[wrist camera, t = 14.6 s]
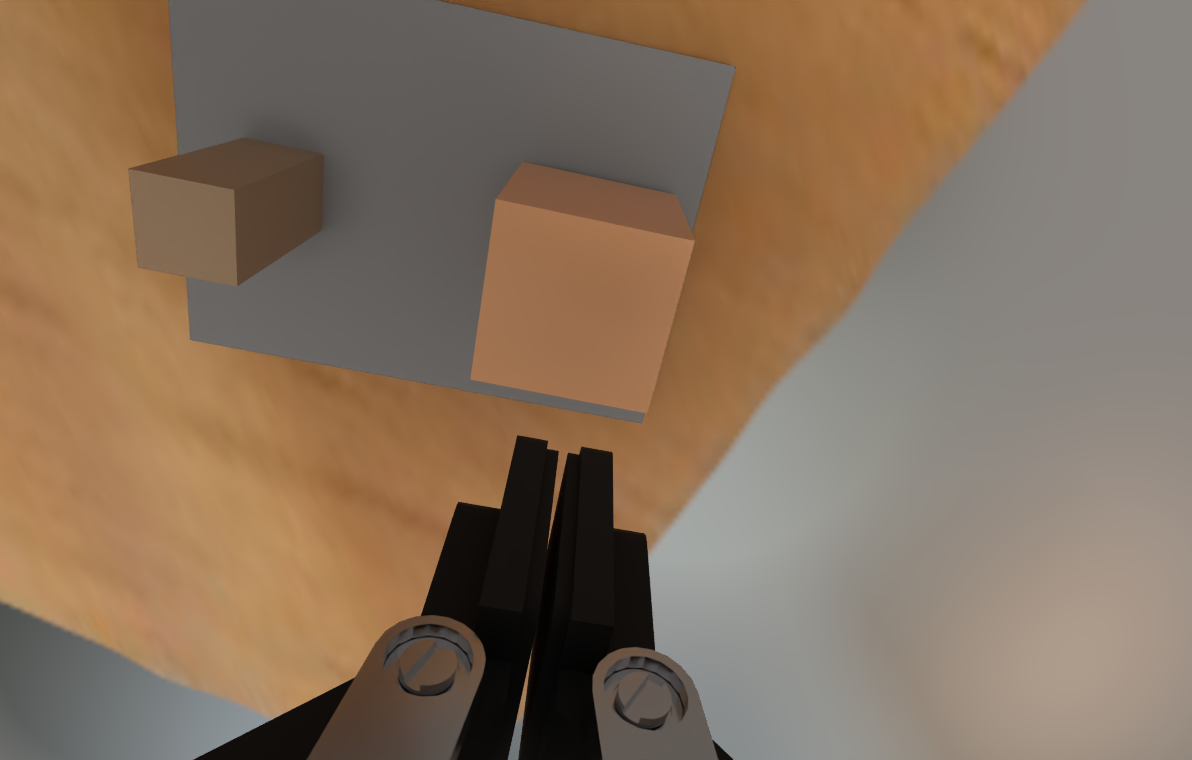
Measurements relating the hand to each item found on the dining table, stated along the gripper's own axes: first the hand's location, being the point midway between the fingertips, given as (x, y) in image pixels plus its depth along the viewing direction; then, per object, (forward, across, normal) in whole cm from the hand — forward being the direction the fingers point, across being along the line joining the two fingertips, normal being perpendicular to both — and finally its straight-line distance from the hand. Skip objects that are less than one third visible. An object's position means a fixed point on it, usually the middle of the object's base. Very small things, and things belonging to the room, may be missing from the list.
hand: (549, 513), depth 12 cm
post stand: (+19, +6, 0) cm, 20 cm away
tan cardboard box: (+16, 0, 0) cm, 17 cm away
